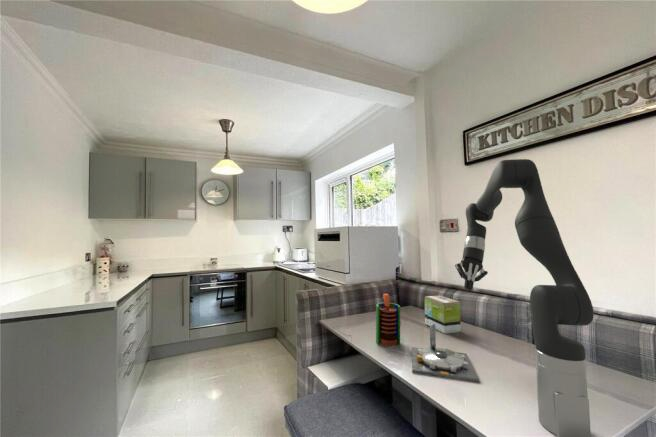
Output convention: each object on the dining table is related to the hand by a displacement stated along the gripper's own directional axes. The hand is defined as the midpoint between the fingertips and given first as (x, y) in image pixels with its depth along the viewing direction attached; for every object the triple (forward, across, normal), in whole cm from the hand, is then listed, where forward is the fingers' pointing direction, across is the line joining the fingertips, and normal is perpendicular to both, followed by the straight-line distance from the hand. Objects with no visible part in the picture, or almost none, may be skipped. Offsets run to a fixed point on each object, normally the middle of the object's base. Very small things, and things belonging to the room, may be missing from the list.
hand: (468, 290), depth 109 cm
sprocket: (+28, +8, +5) cm, 29 cm away
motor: (+29, +23, -15) cm, 40 cm away
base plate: (+29, +8, +5) cm, 30 cm away
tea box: (+17, -7, -34) cm, 39 cm away
